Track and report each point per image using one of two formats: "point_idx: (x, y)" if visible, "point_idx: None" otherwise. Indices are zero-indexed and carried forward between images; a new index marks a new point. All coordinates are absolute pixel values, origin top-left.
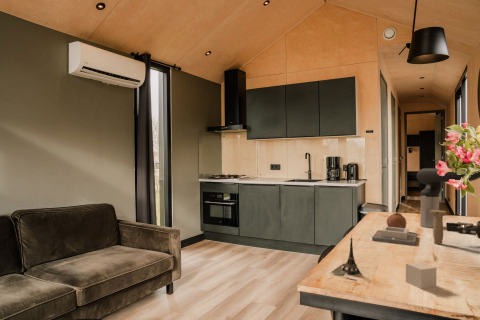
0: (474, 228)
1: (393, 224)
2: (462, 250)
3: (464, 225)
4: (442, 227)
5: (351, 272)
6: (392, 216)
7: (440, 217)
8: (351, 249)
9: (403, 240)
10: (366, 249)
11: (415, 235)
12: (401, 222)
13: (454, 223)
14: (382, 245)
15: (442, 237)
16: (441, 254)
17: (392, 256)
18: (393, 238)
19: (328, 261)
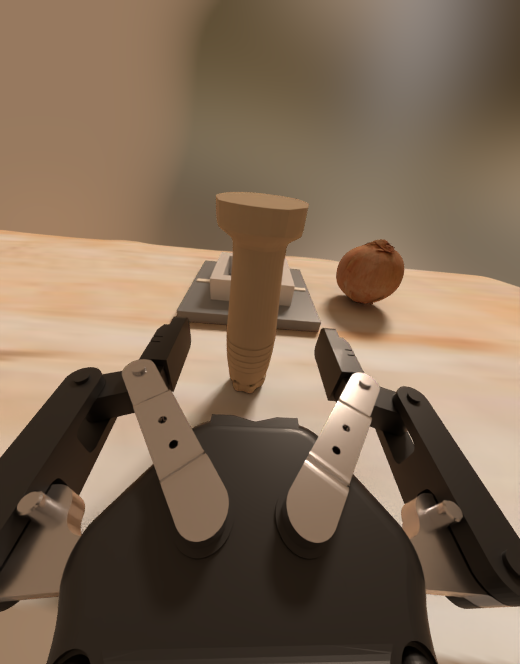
0: (65, 582)
1: (337, 271)
2: (121, 488)
3: (174, 413)
4: (240, 323)
5: None
6: (357, 247)
7: (234, 250)
8: None
9: (193, 293)
10: (110, 260)
11: (294, 318)
12: (353, 272)
13: (338, 363)
14: (158, 276)
15: (240, 370)
16: (30, 378)
17: (31, 281)
18: (205, 280)
19: (14, 233)
